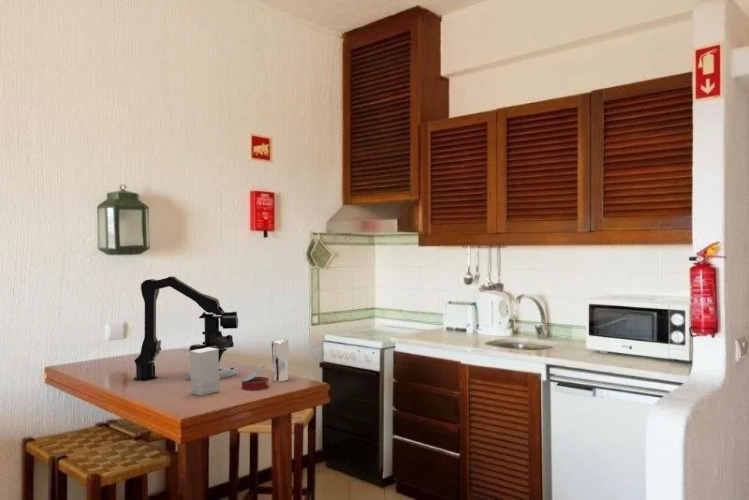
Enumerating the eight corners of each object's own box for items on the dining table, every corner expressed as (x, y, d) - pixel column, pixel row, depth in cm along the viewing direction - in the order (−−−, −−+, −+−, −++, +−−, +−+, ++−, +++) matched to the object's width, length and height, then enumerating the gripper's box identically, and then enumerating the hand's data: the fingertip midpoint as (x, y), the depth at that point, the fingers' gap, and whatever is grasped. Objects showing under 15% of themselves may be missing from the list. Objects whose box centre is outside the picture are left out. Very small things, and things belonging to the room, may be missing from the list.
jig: (207, 381, 231) (207, 374, 231) (186, 378, 237) (186, 371, 237) (237, 374, 244) (237, 367, 244) (217, 371, 251) (217, 364, 251)
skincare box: (209, 389, 218) (209, 346, 218) (220, 391, 214) (220, 348, 214) (189, 393, 212) (189, 350, 212) (200, 396, 207) (199, 351, 207)
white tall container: (285, 382, 228) (285, 343, 228) (268, 381, 229) (268, 342, 229) (291, 378, 235) (291, 340, 235) (275, 377, 236) (274, 340, 236)
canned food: (259, 403, 216) (252, 381, 211) (239, 397, 221) (231, 375, 216) (278, 383, 224) (272, 362, 219) (258, 377, 229) (251, 357, 225)
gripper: (208, 333, 228) (208, 373, 228) (242, 327, 244) (243, 365, 244) (188, 331, 234) (188, 371, 234) (223, 326, 250) (224, 363, 250)
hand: (212, 367), depth 241 cm, fingers closed on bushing, 4 cm apart
